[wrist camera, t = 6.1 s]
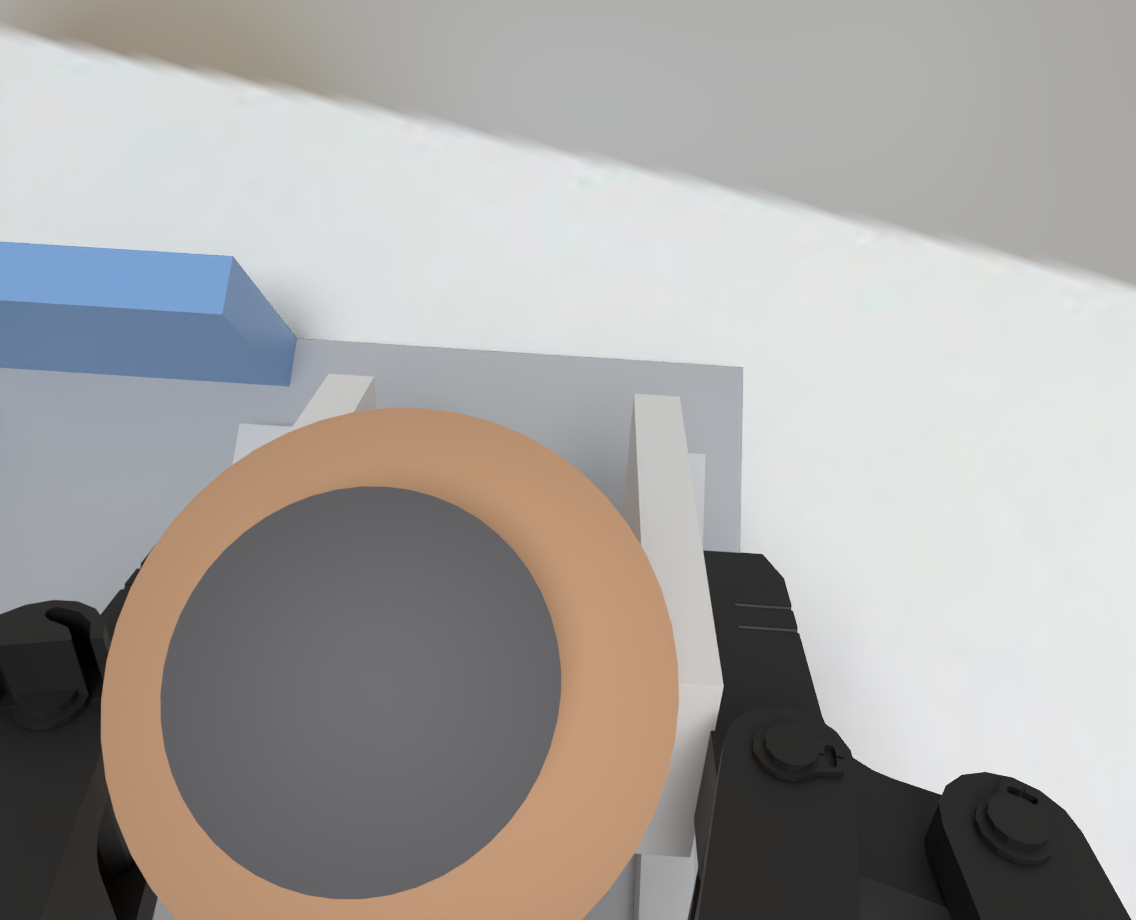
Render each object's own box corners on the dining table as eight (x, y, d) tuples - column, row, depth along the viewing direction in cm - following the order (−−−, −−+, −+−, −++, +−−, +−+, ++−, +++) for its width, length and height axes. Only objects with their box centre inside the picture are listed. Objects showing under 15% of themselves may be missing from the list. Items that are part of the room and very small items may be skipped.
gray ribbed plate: (719, 1081, 17) (782, 1244, 12) (-202, 1010, 18) (-510, 1142, 13) (733, 384, 21) (786, 291, 16) (-26, 335, 21) (-208, 228, 16)
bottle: (356, 672, 18) (-110, 647, 6) (513, 538, 19) (415, 248, 6) (488, 841, 17) (290, 1251, 5) (648, 693, 18) (839, 714, 6)
